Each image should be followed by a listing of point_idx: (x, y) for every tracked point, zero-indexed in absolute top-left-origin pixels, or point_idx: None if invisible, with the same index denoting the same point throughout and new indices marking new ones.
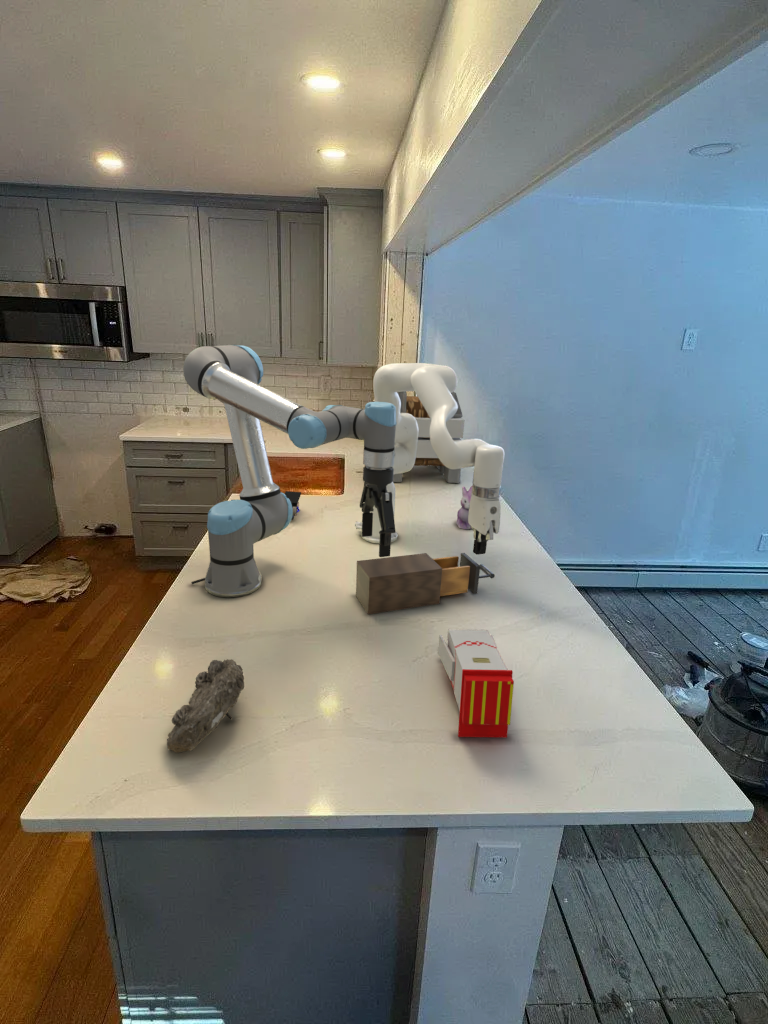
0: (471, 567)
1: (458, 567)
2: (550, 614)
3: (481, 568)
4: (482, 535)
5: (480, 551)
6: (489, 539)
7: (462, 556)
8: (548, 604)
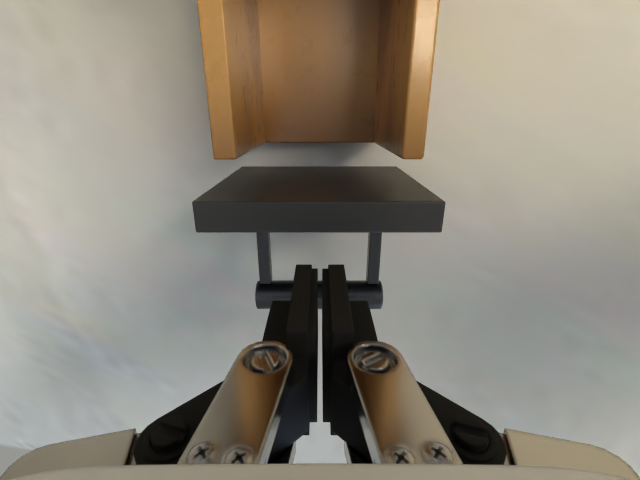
0: (268, 192)
1: (212, 50)
2: (79, 366)
3: (349, 283)
4: (347, 450)
5: (273, 306)
6: (17, 463)
7: (410, 197)
8: (147, 394)
